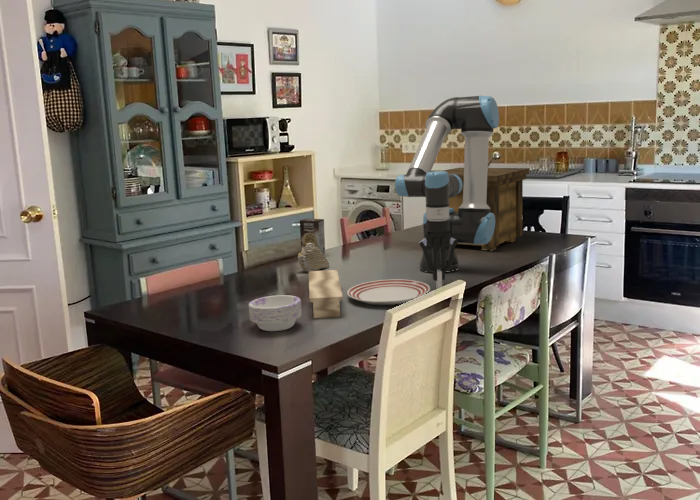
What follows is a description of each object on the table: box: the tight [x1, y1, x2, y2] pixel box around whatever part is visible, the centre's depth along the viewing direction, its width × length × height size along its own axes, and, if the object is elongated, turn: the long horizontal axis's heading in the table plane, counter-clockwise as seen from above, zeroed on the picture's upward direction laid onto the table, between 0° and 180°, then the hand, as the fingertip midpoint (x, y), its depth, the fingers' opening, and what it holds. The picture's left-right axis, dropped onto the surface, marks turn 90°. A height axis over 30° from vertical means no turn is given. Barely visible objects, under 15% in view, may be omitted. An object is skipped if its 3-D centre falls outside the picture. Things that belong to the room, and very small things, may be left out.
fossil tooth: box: [297, 243, 330, 273], centre depth 274 cm, size 12×6×15 cm
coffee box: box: [299, 218, 326, 256], centre depth 301 cm, size 9×6×16 cm
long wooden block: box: [308, 269, 344, 319], centre depth 227 cm, size 10×37×6 cm, turn 4°
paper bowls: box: [248, 294, 303, 332], centre depth 202 cm, size 15×15×8 cm
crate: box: [443, 167, 531, 250], centre depth 310 cm, size 35×35×33 cm
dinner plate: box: [346, 278, 431, 306], centre depth 229 cm, size 28×27×3 cm
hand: (439, 289), depth 230 cm, fingers closed
